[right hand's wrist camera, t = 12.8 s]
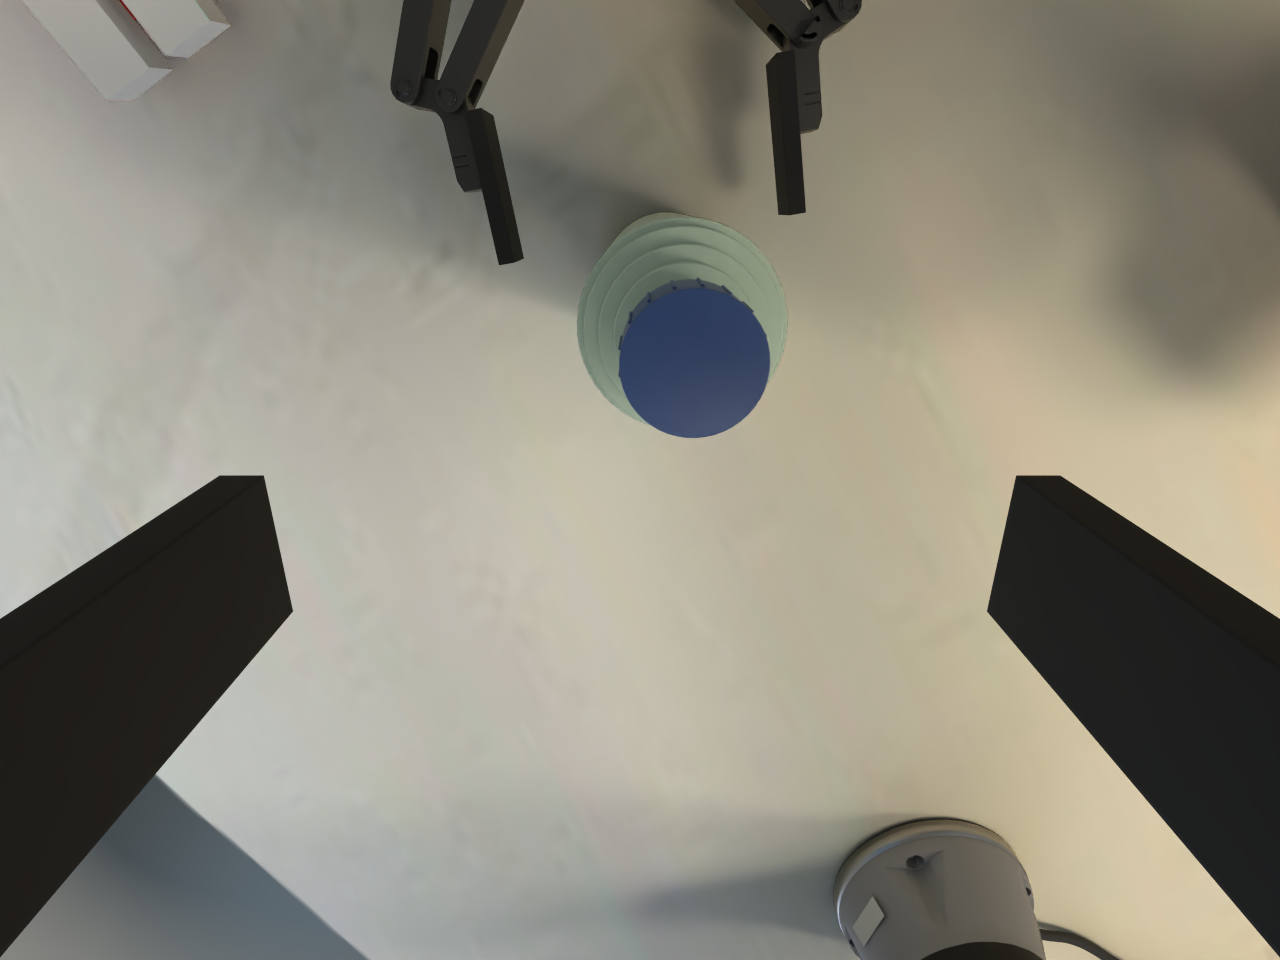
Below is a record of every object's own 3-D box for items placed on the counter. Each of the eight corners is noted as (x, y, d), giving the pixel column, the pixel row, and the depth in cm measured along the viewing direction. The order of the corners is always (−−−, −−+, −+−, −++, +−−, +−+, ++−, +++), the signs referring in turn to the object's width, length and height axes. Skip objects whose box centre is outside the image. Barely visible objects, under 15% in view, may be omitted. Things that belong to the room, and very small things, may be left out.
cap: (632, 426, 21) (632, 452, 19) (606, 291, 19) (602, 302, 17) (765, 403, 21) (780, 426, 18) (748, 264, 19) (762, 272, 17)
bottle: (616, 349, 41) (589, 506, 20) (592, 225, 39) (531, 249, 17) (733, 327, 41) (838, 464, 19) (717, 201, 38) (815, 194, 17)
